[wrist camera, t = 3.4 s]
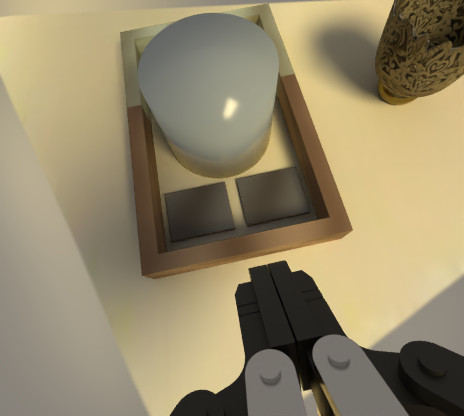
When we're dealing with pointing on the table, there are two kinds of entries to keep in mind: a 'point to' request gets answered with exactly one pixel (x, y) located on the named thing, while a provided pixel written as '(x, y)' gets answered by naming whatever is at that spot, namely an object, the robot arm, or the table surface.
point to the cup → (420, 49)
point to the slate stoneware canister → (212, 91)
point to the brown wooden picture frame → (215, 196)
